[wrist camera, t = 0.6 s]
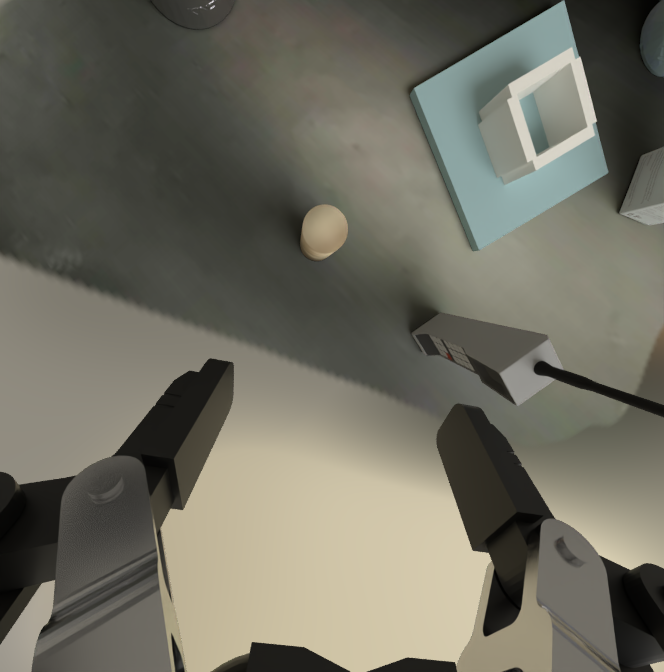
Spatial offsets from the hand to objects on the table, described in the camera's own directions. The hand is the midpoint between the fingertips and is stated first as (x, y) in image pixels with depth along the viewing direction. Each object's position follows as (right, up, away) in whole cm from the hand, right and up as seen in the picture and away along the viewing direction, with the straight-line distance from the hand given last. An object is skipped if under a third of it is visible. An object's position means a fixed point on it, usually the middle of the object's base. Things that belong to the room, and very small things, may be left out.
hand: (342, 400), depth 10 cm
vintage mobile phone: (+13, +3, +28) cm, 31 cm away
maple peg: (-2, +14, +23) cm, 27 cm away
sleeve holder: (+22, +27, +24) cm, 43 cm away
